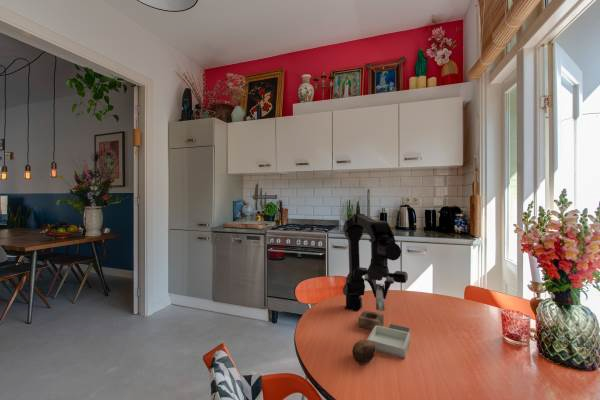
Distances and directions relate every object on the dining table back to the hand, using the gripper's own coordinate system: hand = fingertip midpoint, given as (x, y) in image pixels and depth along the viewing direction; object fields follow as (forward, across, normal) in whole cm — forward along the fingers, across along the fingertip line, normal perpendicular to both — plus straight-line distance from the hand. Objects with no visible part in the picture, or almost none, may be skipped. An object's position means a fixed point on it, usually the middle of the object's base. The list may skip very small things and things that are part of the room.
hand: (380, 298), depth 99 cm
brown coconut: (+14, -1, -18) cm, 23 cm away
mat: (+14, +5, +7) cm, 16 cm away
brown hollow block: (+14, -5, +6) cm, 16 cm away
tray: (+14, +4, -5) cm, 15 cm away
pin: (+4, 0, 0) cm, 4 cm away
